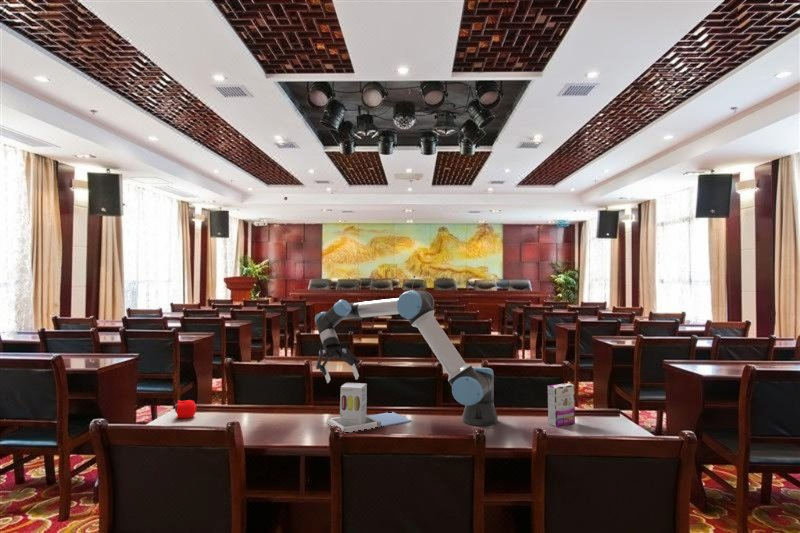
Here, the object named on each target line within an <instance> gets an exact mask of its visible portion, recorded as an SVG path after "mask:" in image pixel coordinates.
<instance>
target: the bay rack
mask: <svg viewBox="0 0 800 533" xmlns="http://www.w3.org/2000/svg"><path fill="white" fill-rule="evenodd" d="M391 412H392V413H388V412H384V413H378V414H369V415H368V414H366V424H360V425H354V426H348V427H344V426H342V425H340V416H336V417H329V418H326V424H327V425H328V424H329V425H328V426H330V425H331V426H338V427H340V428H341V430H342V431H344V432H349V433H354V432H353V431H355V432H359V431H358V430H361V431H365V430H364V429H367V430H372V429H371V428H373V429H376V428H375V427H378V428H383V426H384V427H389V426H390V427H391V426H395V425H401V424H402V425H403V424H407V423H412V419H410V418H407V417H405V416H402V415H401V414H399V413H396V412H394V411H391ZM331 426H330V427H331ZM381 426H382V427H381Z"/></svg>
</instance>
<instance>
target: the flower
mask: <svg viewBox="0 0 800 533" xmlns="http://www.w3.org/2000/svg"><path fill="white" fill-rule="evenodd" d="M176 409H177V410H176V415H177V416H176V419H179V418H180V419H190V418H192V417H194V416H195V415H196V412H197V409H198V407H197V405H196V403H195V401H194V400H191V399H188V400H179V399H178V400H177V407H176Z"/></svg>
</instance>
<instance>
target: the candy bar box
mask: <svg viewBox="0 0 800 533" xmlns="http://www.w3.org/2000/svg"><path fill="white" fill-rule="evenodd" d="M575 402H576V400H575V385H574V384H571V383H567V382H566V383H559V384H551V385H547V413H548V414H547V416H548V418H547V420H548V423H547V424H548V425H550V426H551V427H552V426H553V427H556V428H559V427H564V426H568V425H569V426H570V425H574V424H576V414H575V413H576V409H575V408H576V407H575Z"/></svg>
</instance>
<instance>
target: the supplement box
mask: <svg viewBox="0 0 800 533" xmlns="http://www.w3.org/2000/svg"><path fill="white" fill-rule="evenodd" d="M367 386H368V384H367V383H360V382H345V383H343V384H342V385H341V386H340V396H339V397H340V398H339V399H340V401H339V417H340V423H339V424H340V425H342V426H344V427H348V426H354V425H360V424H366V423H367V422H366V415H367V402H368V401H367V400H368V397H367V394H368V393H367V392H368V391H367V390H368V389H367V388H368V387H367Z"/></svg>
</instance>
